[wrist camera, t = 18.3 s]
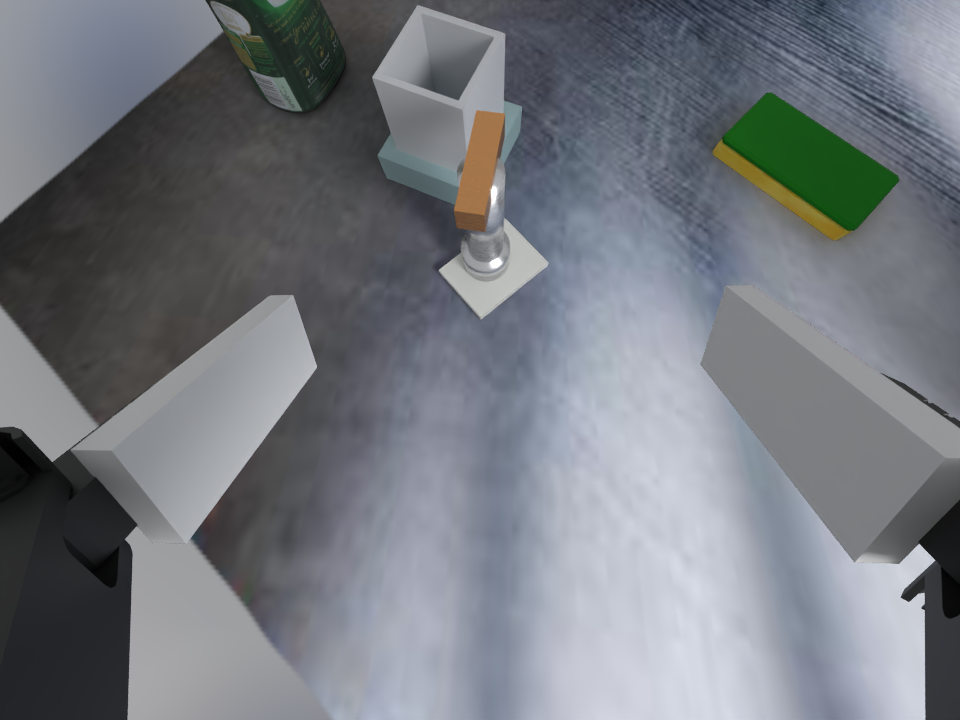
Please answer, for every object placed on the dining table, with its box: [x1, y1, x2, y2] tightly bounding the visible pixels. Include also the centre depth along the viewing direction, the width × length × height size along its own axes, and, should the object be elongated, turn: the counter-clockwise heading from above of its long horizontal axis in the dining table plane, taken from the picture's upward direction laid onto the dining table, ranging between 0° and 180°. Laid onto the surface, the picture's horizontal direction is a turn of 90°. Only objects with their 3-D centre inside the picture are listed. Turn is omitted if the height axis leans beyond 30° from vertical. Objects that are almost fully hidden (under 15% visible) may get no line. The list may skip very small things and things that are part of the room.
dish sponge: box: [713, 93, 899, 240], centre depth 35 cm, size 7×14×2 cm, turn 45°
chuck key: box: [454, 110, 510, 282], centre depth 29 cm, size 7×4×12 cm, turn 169°
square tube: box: [372, 5, 522, 205], centre depth 33 cm, size 10×10×10 cm
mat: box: [439, 219, 548, 319], centre depth 35 cm, size 8×6×1 cm
